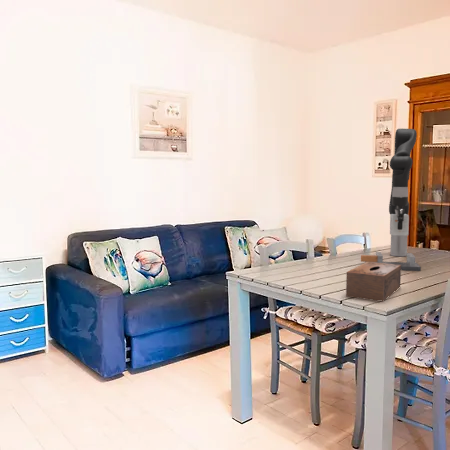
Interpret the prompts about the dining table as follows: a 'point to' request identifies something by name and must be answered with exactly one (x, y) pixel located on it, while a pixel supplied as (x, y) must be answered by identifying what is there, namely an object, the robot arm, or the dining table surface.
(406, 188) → the robot arm
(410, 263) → the vise
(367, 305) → the dining table surface
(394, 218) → the small box
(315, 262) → the dining table surface
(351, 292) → the tissue box cover
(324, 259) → the dining table surface
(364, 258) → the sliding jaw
